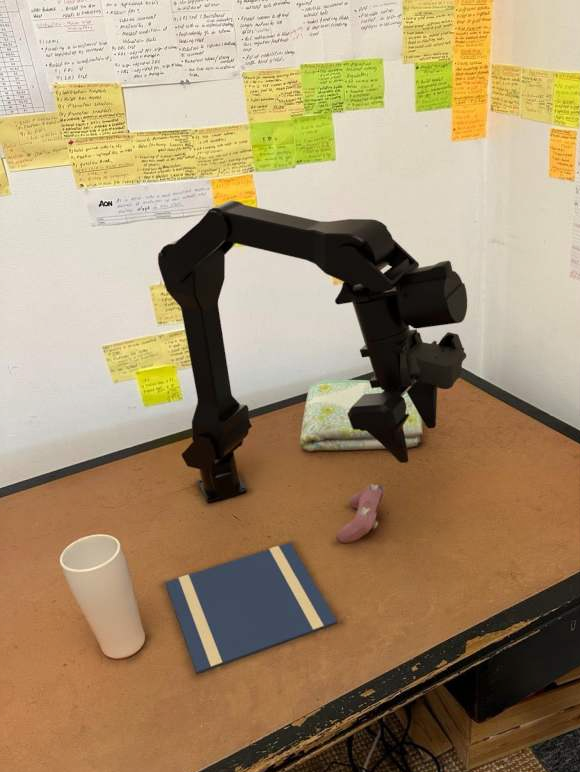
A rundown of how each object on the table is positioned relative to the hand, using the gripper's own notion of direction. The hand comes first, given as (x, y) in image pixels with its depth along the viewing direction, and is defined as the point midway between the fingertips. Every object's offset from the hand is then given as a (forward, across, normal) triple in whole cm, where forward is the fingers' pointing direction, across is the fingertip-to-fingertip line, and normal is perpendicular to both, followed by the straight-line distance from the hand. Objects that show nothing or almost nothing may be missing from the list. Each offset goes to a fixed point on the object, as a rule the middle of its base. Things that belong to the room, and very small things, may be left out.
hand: (418, 444), depth 98 cm
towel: (+10, +26, +25) cm, 37 cm away
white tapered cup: (+9, -33, +29) cm, 45 cm away
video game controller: (+13, -1, +13) cm, 18 cm away
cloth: (+11, -21, +19) cm, 31 cm away
